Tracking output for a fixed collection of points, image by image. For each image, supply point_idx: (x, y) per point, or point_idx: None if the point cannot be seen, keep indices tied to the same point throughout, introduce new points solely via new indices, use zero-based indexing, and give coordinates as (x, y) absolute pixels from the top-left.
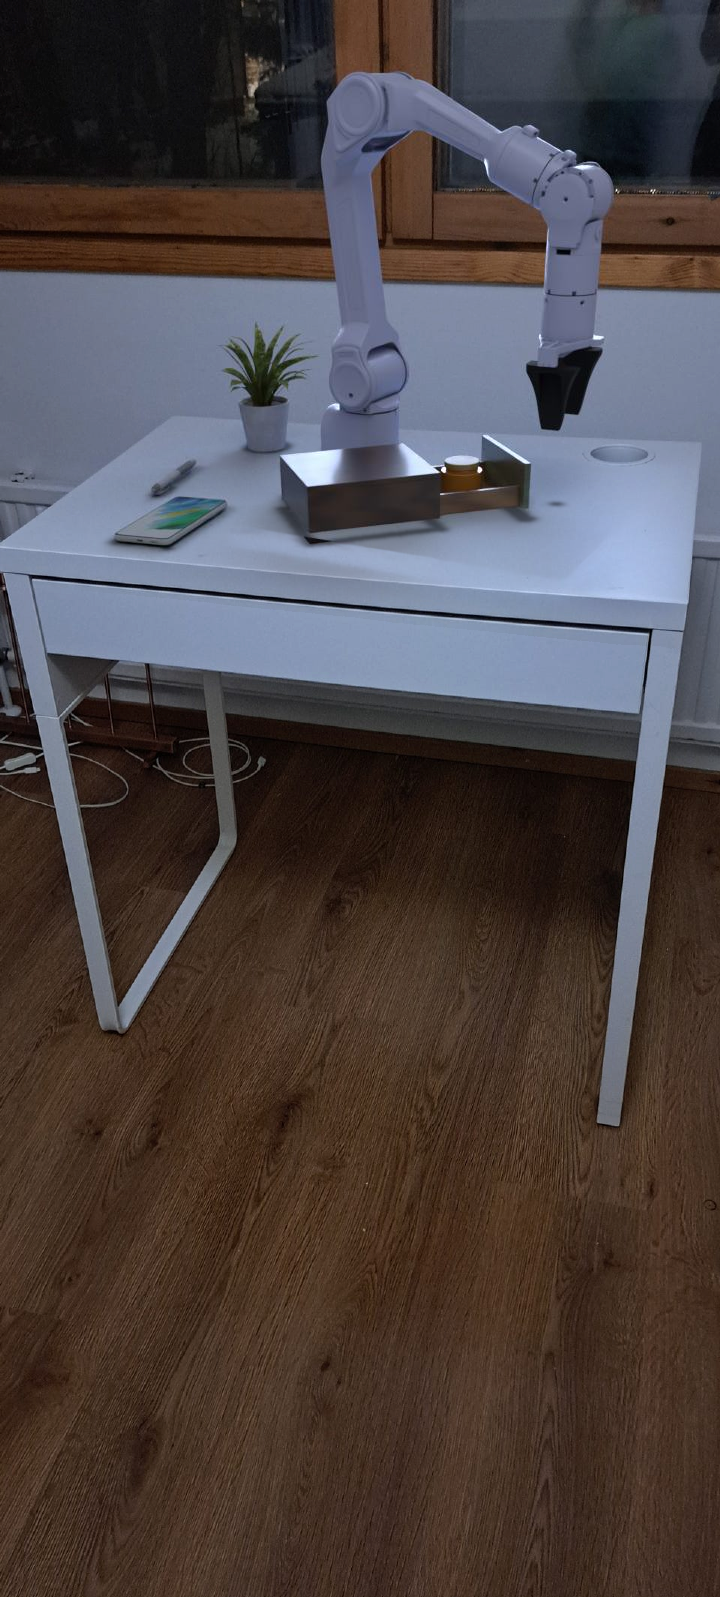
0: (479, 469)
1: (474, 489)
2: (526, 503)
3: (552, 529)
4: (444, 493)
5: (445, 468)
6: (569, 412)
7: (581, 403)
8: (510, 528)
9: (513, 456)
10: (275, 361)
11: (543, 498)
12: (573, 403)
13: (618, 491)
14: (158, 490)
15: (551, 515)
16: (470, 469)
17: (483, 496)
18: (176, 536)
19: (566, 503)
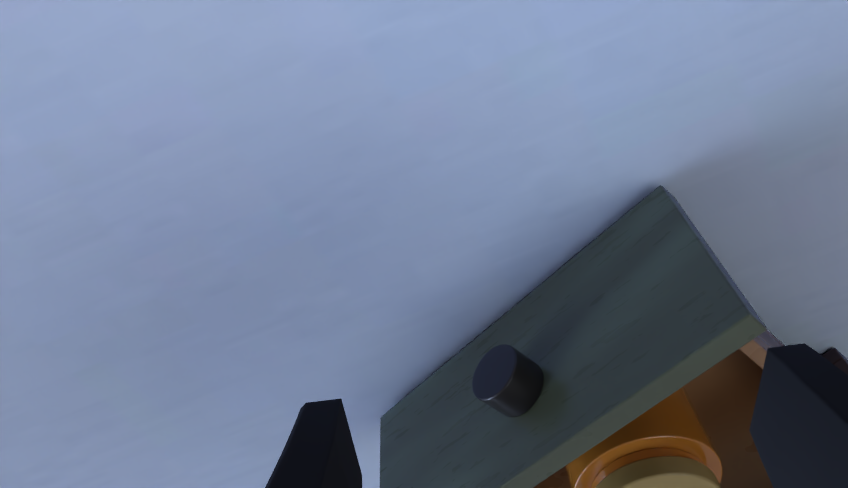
0: (627, 450)
1: (670, 396)
2: (684, 216)
3: (752, 52)
4: None
5: None
6: (350, 448)
7: (325, 451)
8: (776, 187)
9: (650, 408)
10: None
11: (393, 230)
12: (343, 486)
13: (115, 10)
14: None
15: (580, 126)
16: (699, 464)
17: (766, 343)
18: None
19: (408, 137)
